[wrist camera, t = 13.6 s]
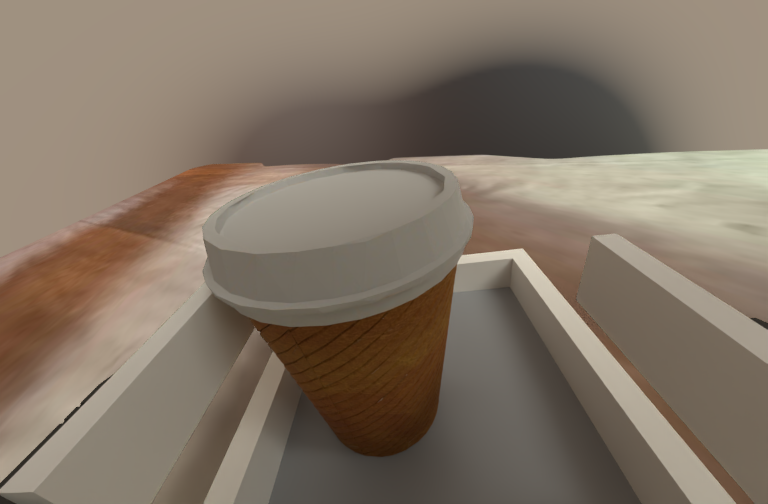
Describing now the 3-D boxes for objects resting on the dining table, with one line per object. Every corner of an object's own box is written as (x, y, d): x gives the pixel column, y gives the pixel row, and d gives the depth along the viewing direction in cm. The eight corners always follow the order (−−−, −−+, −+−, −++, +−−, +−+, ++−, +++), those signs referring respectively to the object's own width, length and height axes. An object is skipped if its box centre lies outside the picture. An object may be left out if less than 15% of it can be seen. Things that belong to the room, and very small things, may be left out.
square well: (518, 284, 24) (522, 248, 22) (746, 629, 8) (818, 601, 7) (319, 304, 25) (308, 272, 23) (211, 623, 10) (158, 600, 8)
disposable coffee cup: (289, 532, 11) (95, 308, 5) (304, 350, 20) (235, 182, 14) (508, 466, 12) (550, 209, 6) (434, 318, 20) (422, 147, 14)
